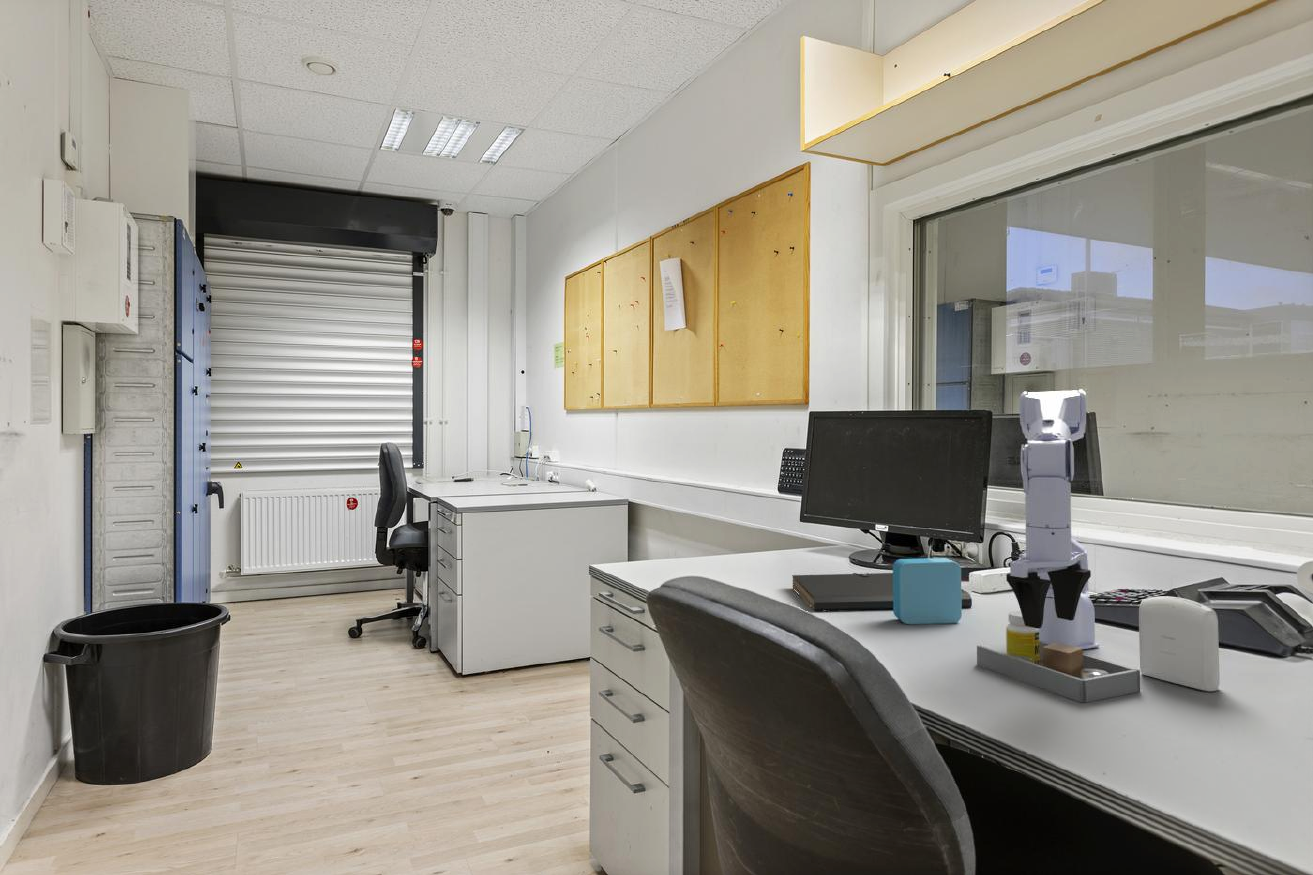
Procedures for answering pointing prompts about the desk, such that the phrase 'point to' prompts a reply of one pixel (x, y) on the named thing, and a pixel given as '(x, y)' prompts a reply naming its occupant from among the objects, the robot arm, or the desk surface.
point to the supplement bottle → (1022, 639)
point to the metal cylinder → (1092, 673)
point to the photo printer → (1179, 642)
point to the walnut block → (1063, 659)
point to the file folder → (851, 591)
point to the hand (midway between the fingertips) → (1049, 622)
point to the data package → (927, 591)
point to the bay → (1065, 675)
